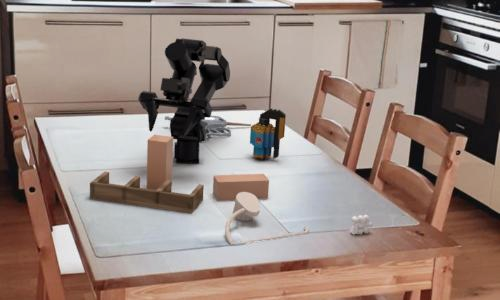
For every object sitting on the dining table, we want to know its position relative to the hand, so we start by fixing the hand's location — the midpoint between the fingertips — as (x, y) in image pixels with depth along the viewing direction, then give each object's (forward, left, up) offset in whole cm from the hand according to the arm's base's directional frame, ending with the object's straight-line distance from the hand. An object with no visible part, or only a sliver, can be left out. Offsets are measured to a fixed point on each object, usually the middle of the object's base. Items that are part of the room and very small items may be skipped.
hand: (167, 133), depth 211 cm
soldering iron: (-14, -43, -13) cm, 47 cm away
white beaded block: (-45, +33, -13) cm, 57 cm away
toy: (-29, -20, -13) cm, 37 cm away
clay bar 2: (-19, +11, -13) cm, 25 cm away
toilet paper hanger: (-21, +30, -13) cm, 39 cm away
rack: (+4, +15, -13) cm, 20 cm away
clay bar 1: (+2, +6, -13) cm, 14 cm away
